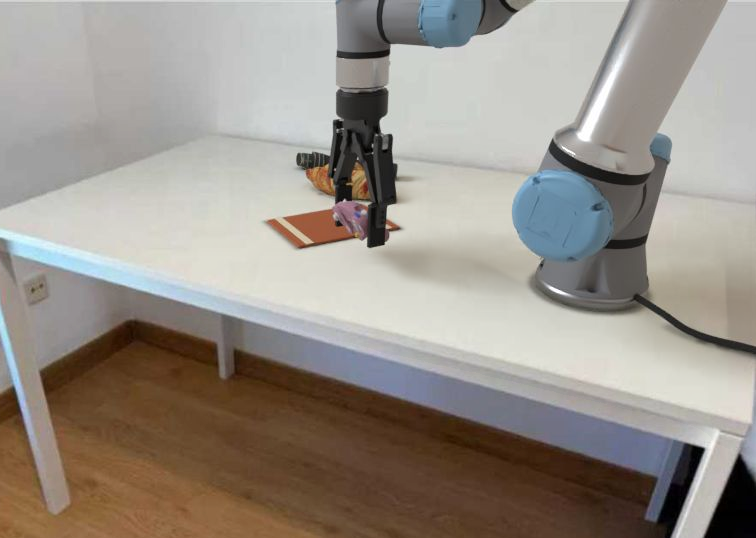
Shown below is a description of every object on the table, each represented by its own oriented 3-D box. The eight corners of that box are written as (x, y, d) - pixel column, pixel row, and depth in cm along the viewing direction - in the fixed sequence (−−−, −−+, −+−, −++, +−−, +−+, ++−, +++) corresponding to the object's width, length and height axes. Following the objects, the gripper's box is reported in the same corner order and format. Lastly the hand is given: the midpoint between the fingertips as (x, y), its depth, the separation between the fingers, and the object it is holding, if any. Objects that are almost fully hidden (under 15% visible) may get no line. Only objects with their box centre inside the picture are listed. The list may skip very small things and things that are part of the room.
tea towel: (399, 228, 124) (399, 226, 123) (298, 248, 117) (298, 245, 117) (361, 205, 135) (361, 203, 134) (267, 222, 128) (267, 219, 128)
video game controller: (339, 236, 114) (322, 203, 110) (360, 220, 114) (345, 186, 110) (371, 256, 106) (354, 221, 102) (394, 239, 106) (378, 203, 102)
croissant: (396, 215, 139) (409, 176, 138) (374, 204, 131) (387, 163, 130) (313, 193, 151) (324, 157, 149) (287, 182, 142) (299, 144, 141)
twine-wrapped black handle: (403, 161, 148) (300, 148, 158) (396, 162, 144) (290, 149, 154) (400, 181, 150) (298, 167, 160) (393, 183, 145) (288, 168, 155)
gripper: (429, 96, 90) (418, 254, 101) (347, 74, 108) (346, 210, 119) (380, 103, 88) (374, 264, 99) (305, 79, 106) (307, 218, 117)
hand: (358, 235), depth 109 cm, fingers closed on video game controller, 10 cm apart
